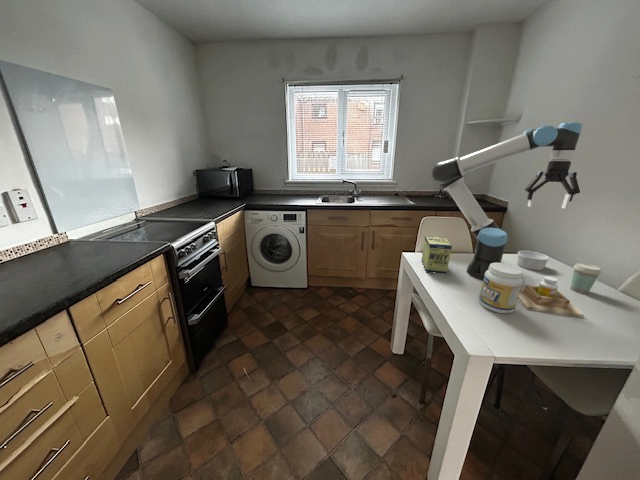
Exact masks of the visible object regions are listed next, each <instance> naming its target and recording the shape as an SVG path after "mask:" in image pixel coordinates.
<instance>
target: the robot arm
mask: <svg viewBox="0 0 640 480" xmlns="http://www.w3.org/2000/svg"><path fill="white" fill-rule="evenodd" d="M582 128H583V123H582V122H577V121H576V122H575V121H573V122H571V121H570V122H562V123H560V124H559V125H558V127H557V128H556V127H555V126H554V125H550V124H549V125H548V124H545V125H542V126H540V127H538V128H531V129H525V130H524V131H523V133H522V134H519V135H517V136H514V137H511V138H509V139H506V140H503V141H501V142H499V143H496V144H494V145H490V146H488V147H485V148H483V149H480V150H478V151H475V152H472V153H470V154H467V155H464V156H462V157H458V156H456V157H454V158H449V159H447V160H441V161H439V162H436V164H435V165H433V167H432V169H431V177H432V179H433V181H434V182H436V183H438V184H439V185H440V186H441V188H442V189H443V190H444V191H447V192H448V194H449V195H450V196H451V198H452V199H453V201H454V202H455V203H456V206H457V207H458V208H459V210H460V211H461V212H462V215H464V217H465V219H466V220H467V221H468V223H469V224H470V226H471V227H470V228H471V229H470V232H471V233H472V235H473V236H474V237H475V239H476V245H475V249H474V253H473V254H474V255H473V258H472V260H471V262H470V263H469V265H468V266H467V267H466V273H467V274H468V275H469V276H471V277H473V278H474V279H478V280H480V281H481V280H482V281H483V279H484V275H485V272H486V271H487V270H489V266H490V264H491V263H502V260H503V256H504V252H505V247H506V244H507V241H508V233H507V232H506V231H504V230H502V229H501V228H500V227H499V226H498V225H497V223H496V222H495V220H494V219H491V218H489V217H488V215H487V213H485V211H484V210H483V209H482V206H481V205H479V202H478V201H477V200H476V198H475V197H474V195H473V194H472V192H471V191H470V189H469V187H468V186H467V185H466V183H465V182H464V178H465V176H464V175H465V173H468V172H472V171H474V170H477V169H479V168H483V167H486V166H488V165H491V164H495V163H497V162H500V161H503V160H505V159H508V158H511V157H514V156H516V155H520V154H523V153H526V152H528V151H532V150H535V149H537V148H541V147H542V148H543V147H544V148H545V147H548V148H549V147H552V149H551V153H550V157H549V161H548V164H547V168H546V171H540V170H539V171H537V173H536V175H535V177H534V178H533V179H532V180H531V181H530V183H528V185H527V186H525V188H524V191H525V192H527V197H526V198H527V200H528V202H527V205H526V206H527V207H529V208H532V207H533V204H534V200H535V196H536V193H535V192H536V191H537V190H539V189H540V188H541V187H543V186H545V185H546V184H547V183H554V182H555V183H561V185H562V187H563V188H564V189H565V190H566V192H567V193H565V195H564V197H563V198H564V199H563V202H562V204H561V209H565V210H567V209H568V206H569V204H570V202H572V200H573V197H574V196H575V195H576V194H580V193H581V189H580V186H579V182H578V178H577V175H578V172H577V171H570V168H571V165H572V160H573V159H574V155H575V152H576V147H577V144H578V142H579V138H580V136H581V133H582ZM569 171H570V172H569ZM544 176H545V177H544ZM542 177H544V178H543V179H542ZM567 177H568V178H569V181H570V183H569V182H568V179H566V178H567ZM540 179H542V180H541V181H540ZM539 181H540V182H539Z"/></svg>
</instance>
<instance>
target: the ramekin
mask: <svg viewBox="0 0 640 480" xmlns="http://www.w3.org/2000/svg"><path fill="white" fill-rule="evenodd" d="M549 259H550V257H549V256H547V255H546V254H543V253H540V252H537V251H530V250H519V251H518V252H517V258H516V263H517V265H518V266H519V267H521V268H524V269H527V270H531V271H542V270H543V269H545V267H546V265H547V262H549Z"/></svg>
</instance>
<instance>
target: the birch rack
mask: <svg viewBox="0 0 640 480" xmlns="http://www.w3.org/2000/svg"><path fill="white" fill-rule="evenodd" d="M538 288H539V285H531V284H525V286H524V288H521V289H520V293H519V296H518V299H517V301H519V302H520V303H521V304H522V306H524V307H523V308H525V309H526V310H531V311H537V312H543V313H551V314H556V315H557V314H558V315H563V316H572V317H578V318H584V315H585V314H584V313H583V312H582V311H581V310H579V309H578V308H577V307H575V306H574V305H573V304H572V303H571V302H570V301H571V300H570V299H568V298H567V297H566V296H564V294H562V293H561V292H560V291H559V290H557V291H556V294H555V297H546V296H540V295H539V294H538V293H537V291H538Z"/></svg>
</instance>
